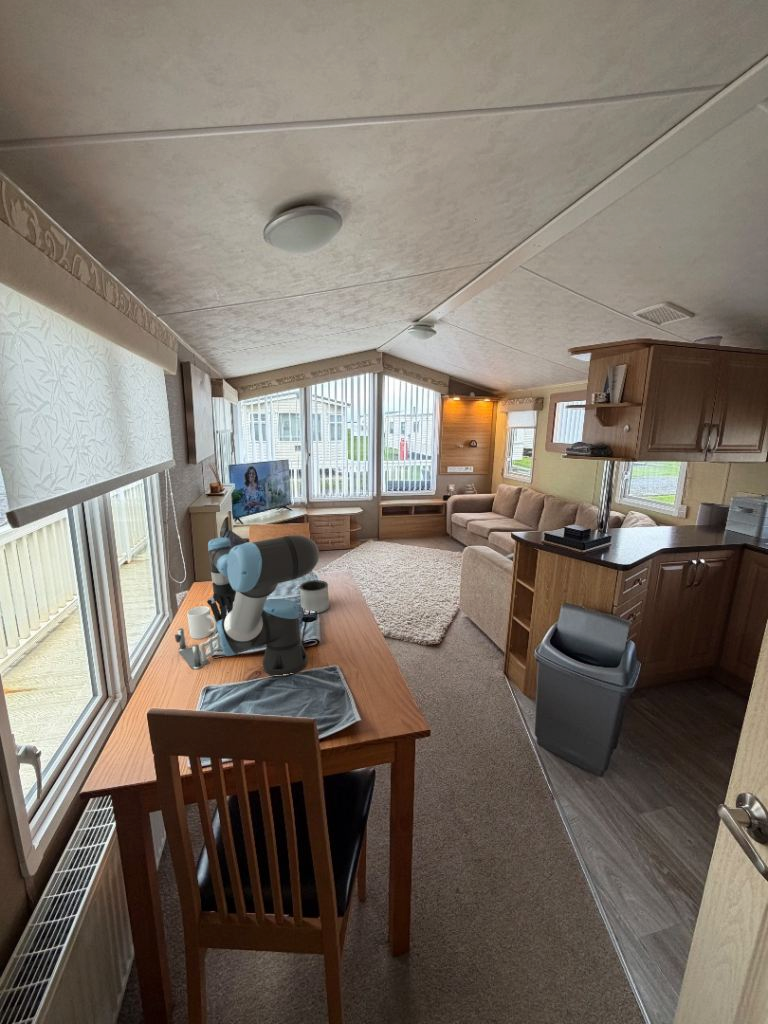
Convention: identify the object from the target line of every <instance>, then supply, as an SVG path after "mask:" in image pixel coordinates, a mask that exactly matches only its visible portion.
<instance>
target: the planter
mask: <svg viewBox="0 0 768 1024" xmlns="http://www.w3.org/2000/svg"><path fill="white" fill-rule="evenodd" d="M299 595H300V608H301V607H302V608H303V609H305V610H312V611H317V613H316V614H320V613H321V614H322V613H324V612H325V611H327V610H328V609H329V607H330V598H329V597H330V596H329V583H327V581H324V580H319V579H314V580H308V581H307V580H306V581H305V582H303V583H301V584H300V585H299Z"/></svg>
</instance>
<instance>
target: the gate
mask: <svg viewBox="0 0 768 1024" xmlns="http://www.w3.org/2000/svg"><path fill="white" fill-rule="evenodd" d="M213 642H215V647H214V646H213V645H214V644H213ZM207 646H208V652H206V647H207ZM220 648H221V649H222V646H221V642H220V638H219V634H218V632H217V633H215V634H214V636H212V637H208V638H207V640H206V641H204V642H201V643H200V644H199V650H200V651H201V656H202V657H201V659H202V661H205V660H206V658H207V659H208V657H213V656H214V655H215V652H218V651H217V650H219V649H220ZM213 654H214V655H213Z"/></svg>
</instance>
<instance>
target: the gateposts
mask: <svg viewBox="0 0 768 1024" xmlns="http://www.w3.org/2000/svg"><path fill="white" fill-rule="evenodd" d="M174 638H175V642H176V643H179V648H178V652H180V651H183V650H186V649H188V648H189V646H187V644H186V636H185V629H184V628H182V627H181V628H179V629H177V634H174ZM191 647H192V649H193V656H194V663H195V665H194V666H193V668H194V669H193V670H200V669H202V668H203V667H204V665H203V664H202V663H201V660H200V653H199V650H200V644H194V645H192V646H191Z"/></svg>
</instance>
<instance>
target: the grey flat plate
mask: <svg viewBox="0 0 768 1024" xmlns="http://www.w3.org/2000/svg"><path fill="white" fill-rule="evenodd" d="M178 653H179V655H180V656H181V657H182V658H183V659H184V661H185V662H186V663H187V665H188V666H189V667H190V668H191V670H195V669H194V668H193V666H194V665H195V663H194V656H193V649H192V646H190V647H188V649H186V650H183V651H178ZM199 653H200V660H201V663H202V664H203V666H205V665H208V664H210V663H211V661H210V660H209V659H208V657H207V658H206V660H205V661H202V659H201V657H202V656H201V649H199Z"/></svg>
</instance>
